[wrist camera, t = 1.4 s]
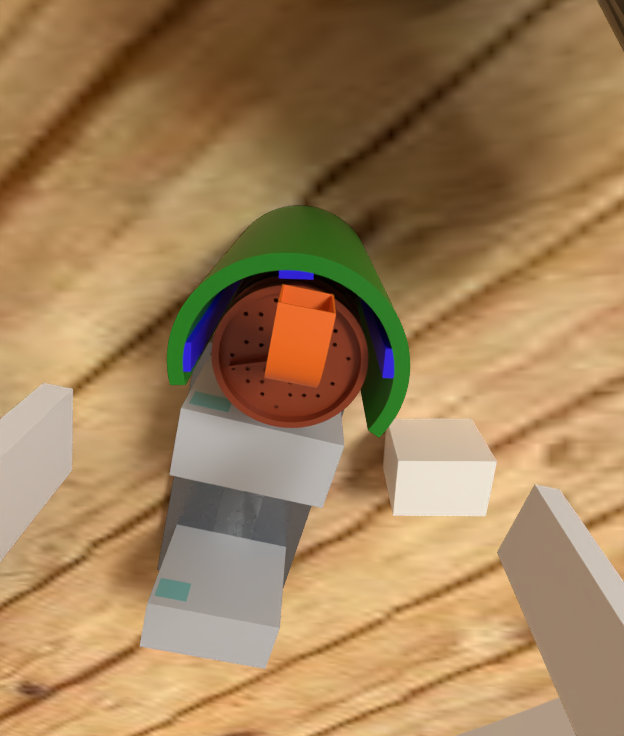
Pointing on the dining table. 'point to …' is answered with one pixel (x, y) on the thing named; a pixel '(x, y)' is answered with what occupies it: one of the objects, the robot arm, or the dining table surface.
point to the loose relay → (437, 467)
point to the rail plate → (233, 509)
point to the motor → (296, 325)
